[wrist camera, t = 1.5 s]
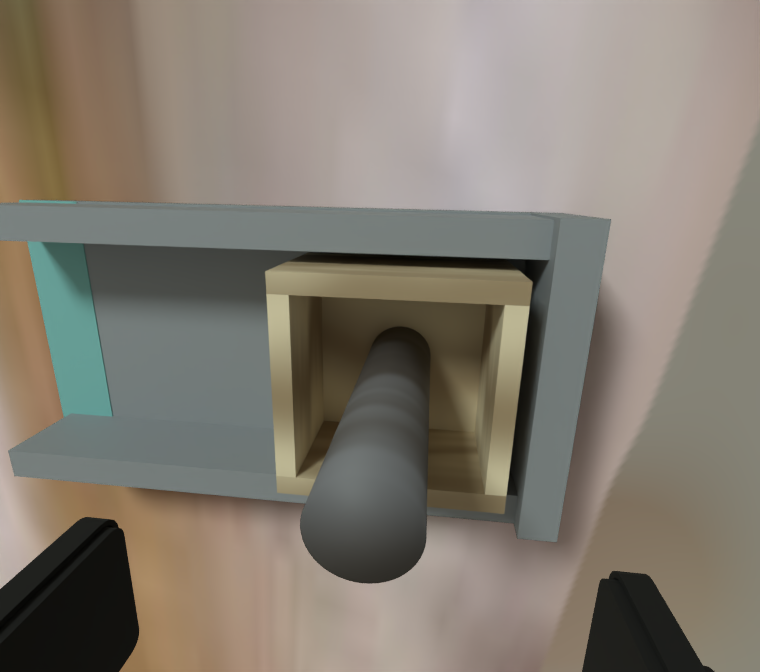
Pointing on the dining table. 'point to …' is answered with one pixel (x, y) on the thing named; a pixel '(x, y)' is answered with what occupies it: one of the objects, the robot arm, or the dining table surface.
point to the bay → (251, 338)
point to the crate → (392, 397)
